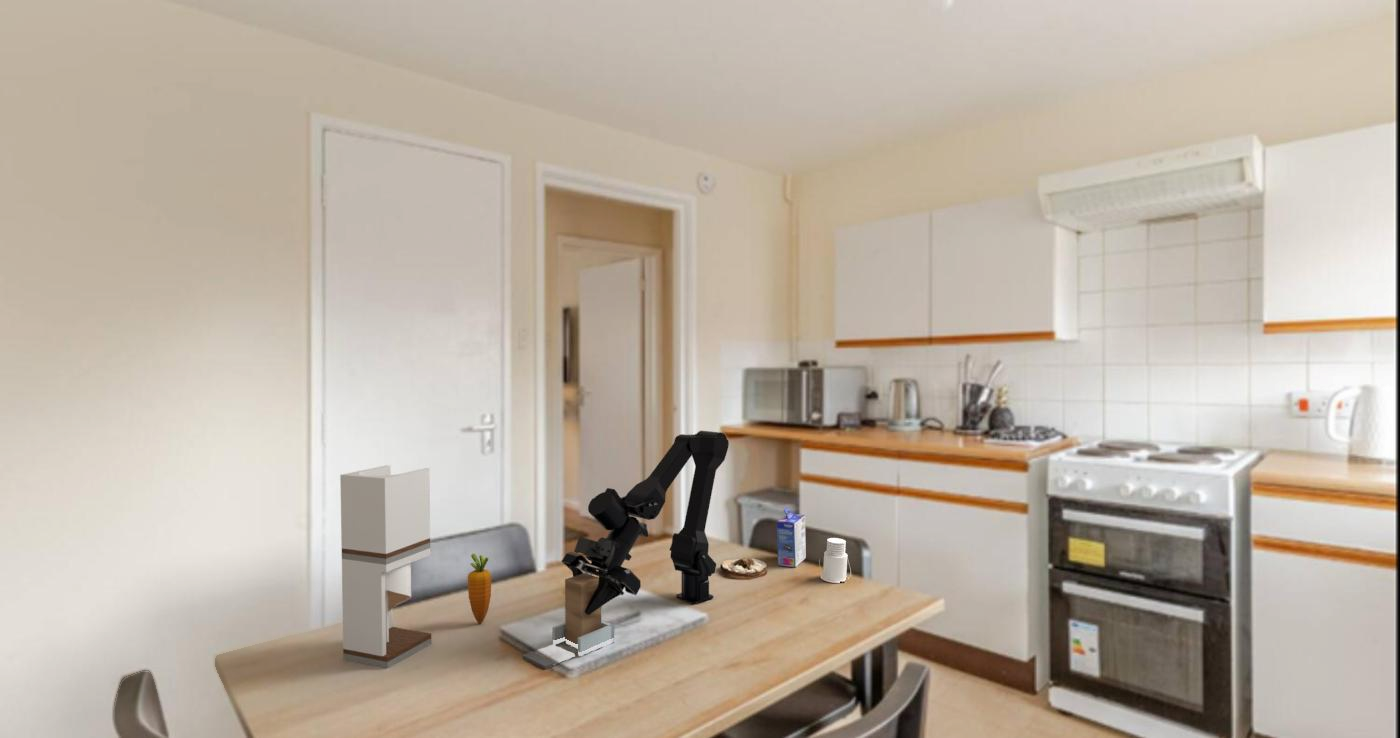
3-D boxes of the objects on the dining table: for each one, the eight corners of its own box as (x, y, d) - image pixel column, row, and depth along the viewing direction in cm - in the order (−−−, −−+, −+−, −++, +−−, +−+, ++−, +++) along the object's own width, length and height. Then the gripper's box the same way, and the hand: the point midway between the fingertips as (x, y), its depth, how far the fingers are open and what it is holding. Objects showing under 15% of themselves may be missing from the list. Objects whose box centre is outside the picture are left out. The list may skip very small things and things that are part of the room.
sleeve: (586, 631, 146) (586, 614, 145) (614, 642, 140) (614, 625, 140) (520, 657, 133) (520, 638, 133) (548, 670, 128) (548, 651, 128)
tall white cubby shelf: (387, 668, 129) (384, 478, 128) (343, 659, 133) (340, 474, 131) (431, 643, 140) (429, 468, 138) (389, 636, 143) (386, 465, 142)
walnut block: (585, 636, 143) (584, 573, 143) (601, 643, 140) (601, 578, 139) (565, 644, 139) (565, 579, 139) (581, 651, 136) (581, 584, 136)
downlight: (818, 582, 176) (820, 542, 175) (818, 573, 182) (820, 535, 182) (851, 585, 174) (853, 545, 174) (849, 576, 181) (851, 538, 181)
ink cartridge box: (787, 555, 198) (787, 504, 198) (806, 558, 196) (806, 506, 196) (776, 565, 189) (776, 512, 189) (795, 568, 187) (796, 514, 187)
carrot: (496, 623, 150) (495, 553, 149) (475, 630, 146) (474, 558, 146) (484, 617, 153) (483, 549, 153) (463, 623, 149) (462, 553, 149)
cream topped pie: (714, 564, 192) (714, 549, 192) (769, 564, 192) (769, 549, 191) (715, 582, 177) (715, 566, 177) (774, 582, 177) (774, 566, 177)
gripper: (568, 513, 148) (524, 578, 140) (630, 528, 136) (585, 600, 128) (597, 542, 154) (557, 606, 146) (658, 559, 142) (618, 630, 134)
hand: (577, 610), depth 138 cm, fingers closed on walnut block, 5 cm apart
